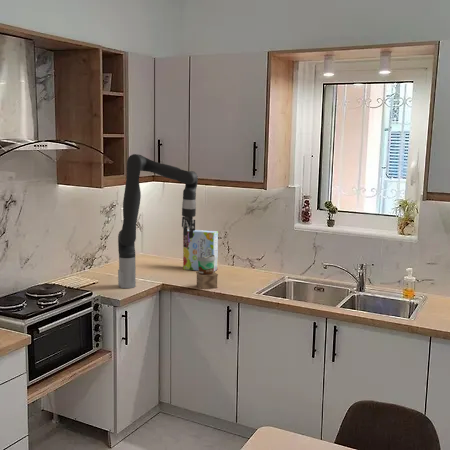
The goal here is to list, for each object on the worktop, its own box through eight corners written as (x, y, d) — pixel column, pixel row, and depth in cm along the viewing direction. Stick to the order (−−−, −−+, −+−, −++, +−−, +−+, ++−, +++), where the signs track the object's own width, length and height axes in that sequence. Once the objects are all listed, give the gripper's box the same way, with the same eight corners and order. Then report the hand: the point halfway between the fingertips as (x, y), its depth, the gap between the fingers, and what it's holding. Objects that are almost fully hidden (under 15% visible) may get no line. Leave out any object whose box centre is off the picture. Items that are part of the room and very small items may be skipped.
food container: (204, 276, 317) (204, 258, 316) (196, 274, 321) (197, 257, 320) (219, 272, 326) (220, 255, 325) (212, 271, 330) (212, 254, 329)
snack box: (218, 269, 369) (218, 230, 366) (213, 272, 361) (214, 232, 358) (187, 266, 377) (188, 228, 373) (182, 269, 369) (182, 230, 365)
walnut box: (202, 289, 320) (202, 275, 318) (195, 285, 328) (196, 272, 327) (217, 288, 324) (218, 274, 322) (211, 284, 332) (211, 270, 331)
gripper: (178, 206, 317) (177, 234, 319) (187, 209, 304) (186, 239, 306) (190, 206, 320) (189, 234, 322) (200, 209, 307) (199, 238, 309)
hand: (187, 236), depth 314 cm, fingers open, 8 cm apart
